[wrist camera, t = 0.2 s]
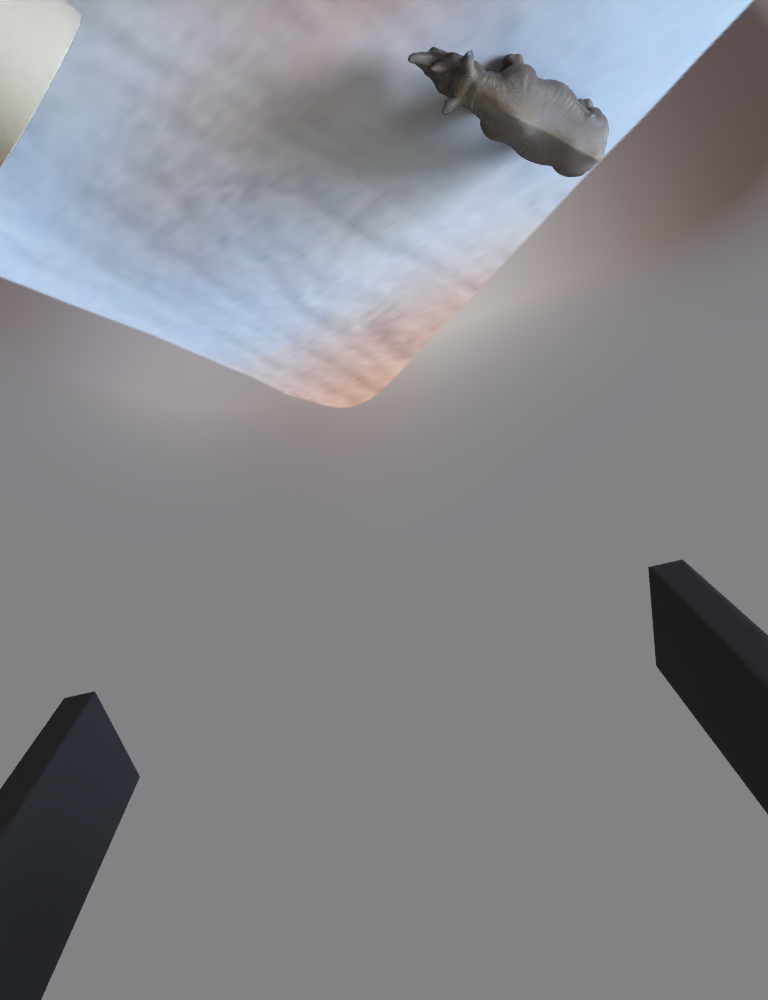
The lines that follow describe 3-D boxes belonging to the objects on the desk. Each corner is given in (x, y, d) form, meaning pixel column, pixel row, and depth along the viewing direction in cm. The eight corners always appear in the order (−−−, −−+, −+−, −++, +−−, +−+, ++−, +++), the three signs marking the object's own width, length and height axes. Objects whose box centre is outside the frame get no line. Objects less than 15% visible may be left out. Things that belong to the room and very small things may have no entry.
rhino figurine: (416, -12, 31) (442, 27, 28) (603, 94, 37) (642, 137, 34) (385, 72, 34) (404, 117, 31) (562, 158, 40) (595, 203, 37)
